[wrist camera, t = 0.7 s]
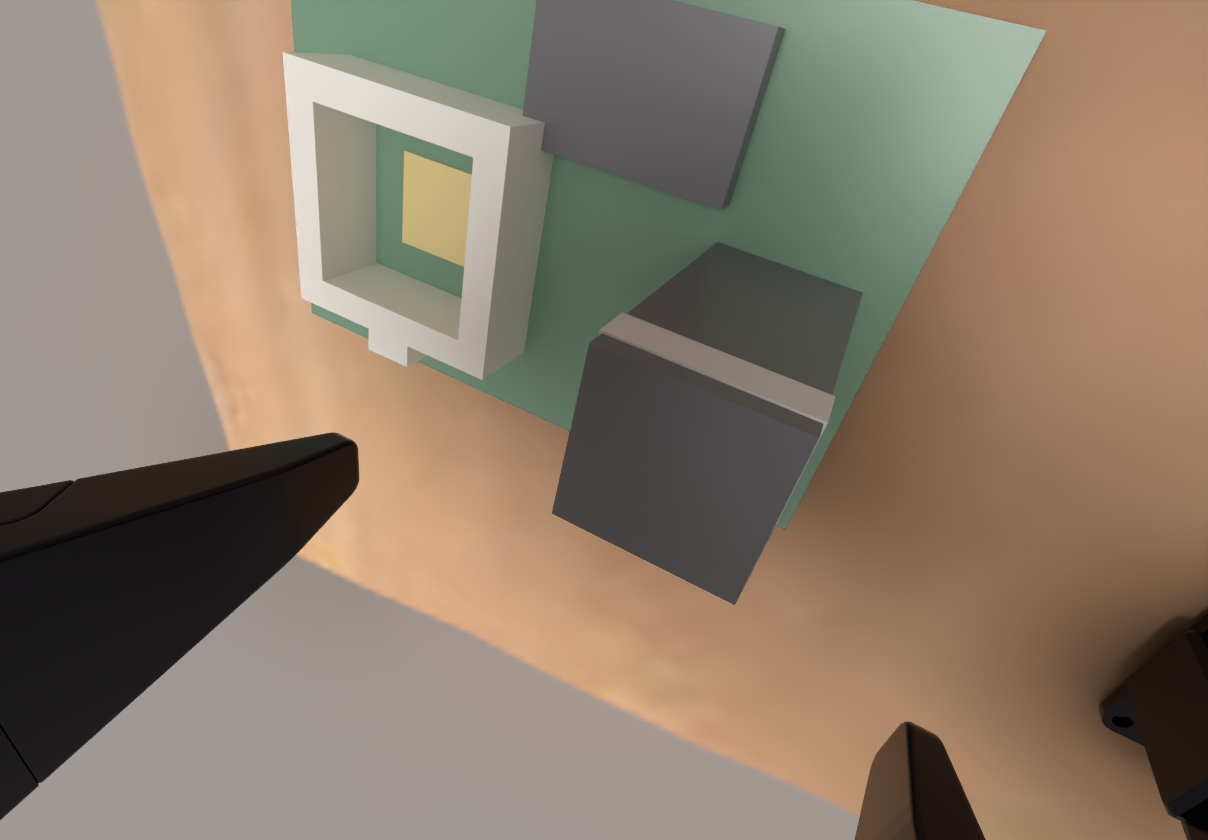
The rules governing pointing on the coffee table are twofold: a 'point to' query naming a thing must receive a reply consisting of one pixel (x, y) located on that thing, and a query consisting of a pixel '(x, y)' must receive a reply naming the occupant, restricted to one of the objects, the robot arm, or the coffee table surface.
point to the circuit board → (622, 165)
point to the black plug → (705, 414)
